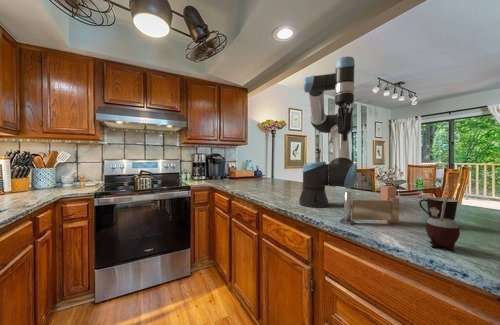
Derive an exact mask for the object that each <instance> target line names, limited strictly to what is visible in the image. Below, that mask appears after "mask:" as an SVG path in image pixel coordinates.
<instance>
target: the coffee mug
mask: <svg viewBox="0 0 500 325" xmlns="http://www.w3.org/2000/svg"><path fill="white" fill-rule="evenodd" d="M446 198H447V197H446ZM446 198H445V197H437V196H436V197H435V196H430V197H426V198H425V199H424V198H423V199H420V200H419V202H418V204H419V207H420V208H421V209H422V211H424V212H425V213H426V214H427V215H428V217H429V218H430V217H441V212H442V204H443V203H444V201H445V199H446ZM422 202H426V203H427V204H426V205H427V210H428V211H427V210H426V209H425V208H424V207H423V205H422ZM458 203H459V202H458V200H457V199H452V198H449V199H448V201H447V202H446V208H445V211H444V217H443V218H447V219H451V220H454V221H455V218H456V213H457V208H458ZM429 218H428V219H429Z"/></svg>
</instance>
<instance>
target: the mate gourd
mask: <svg viewBox="0 0 500 325" xmlns="http://www.w3.org/2000/svg"><path fill="white" fill-rule="evenodd" d="M448 199H450V198H449V197H446V199H445V201H444V203H443V204H442V212H441V217H430V218H428V219H427V220H426V222H425V223H426V224H425V232H426V235H427V237H428V238H429V240H430V241H429V244H430V248H431V247H432V249H443V250H445V249H446V250H445V251H448V252H450V251H451V253H455V250H454V248H455V245H456V243H457V242H458V240H459V238H460V235H461V231H460V227H459V225H458V223H457V222H456V221H455V219H454V220H451V219H447V218H443V217H444V211H445V208H446V202H447V201H448Z"/></svg>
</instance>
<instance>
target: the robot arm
mask: <svg viewBox="0 0 500 325" xmlns="http://www.w3.org/2000/svg"><path fill="white" fill-rule="evenodd" d="M355 66H356V63H355V58H354V56H350V55H349V56H348V55H347V56H342V57H340V58H338V59H337V60H336V62H335V72H333V73H327V74H319V75H311V76H305V78H304V79H303V91H304V93H307V94H308V96H309V104H310V113H311V115H310V118H309V119H310V124H311V125H312V127H313V128H314V129H315V130H317V131H318V132H320V133H324V134H330V135H331V136H332V160H331V161H330V163H326V161H325V160H324V161H316V162H315V161H314V162H308V163H304V164H303V166H302V191H301V194H300V197H299V201H298V202H299V203H298V204H299V205H300V206H303V207H310V208H327V207H329V199H328V196H327V193H326V187H338V188H340V187H341V188H342V187H343V188H352V187H354V186H355V184H356V183H355V182H356V178H357V169H358V166H357V164H354V162H353V160H352V159H351V158H350V143H349V135H350V133H352V132H353V130H354V123H353V122H354V121H353V117H352V115H353V110H354V107H353V106H352V107H351V105H352V104H354V102H355V94H354V93H355V89H356V87H355ZM325 91H334V95H335V96H334V104H335V105H336V106H338V109H337V113H335V114H326V113H325Z"/></svg>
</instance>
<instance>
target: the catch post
mask: <svg viewBox="0 0 500 325" xmlns="http://www.w3.org/2000/svg"><path fill="white" fill-rule="evenodd" d="M389 197H395V198H397V187H396V186H391V185H380V199H379V200H389ZM380 221H382V222H384V223H386V224H387V223H388V224H389V223H391V224H392V223H394V224H395V223H396V222H391V221H389V220H380Z"/></svg>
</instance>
